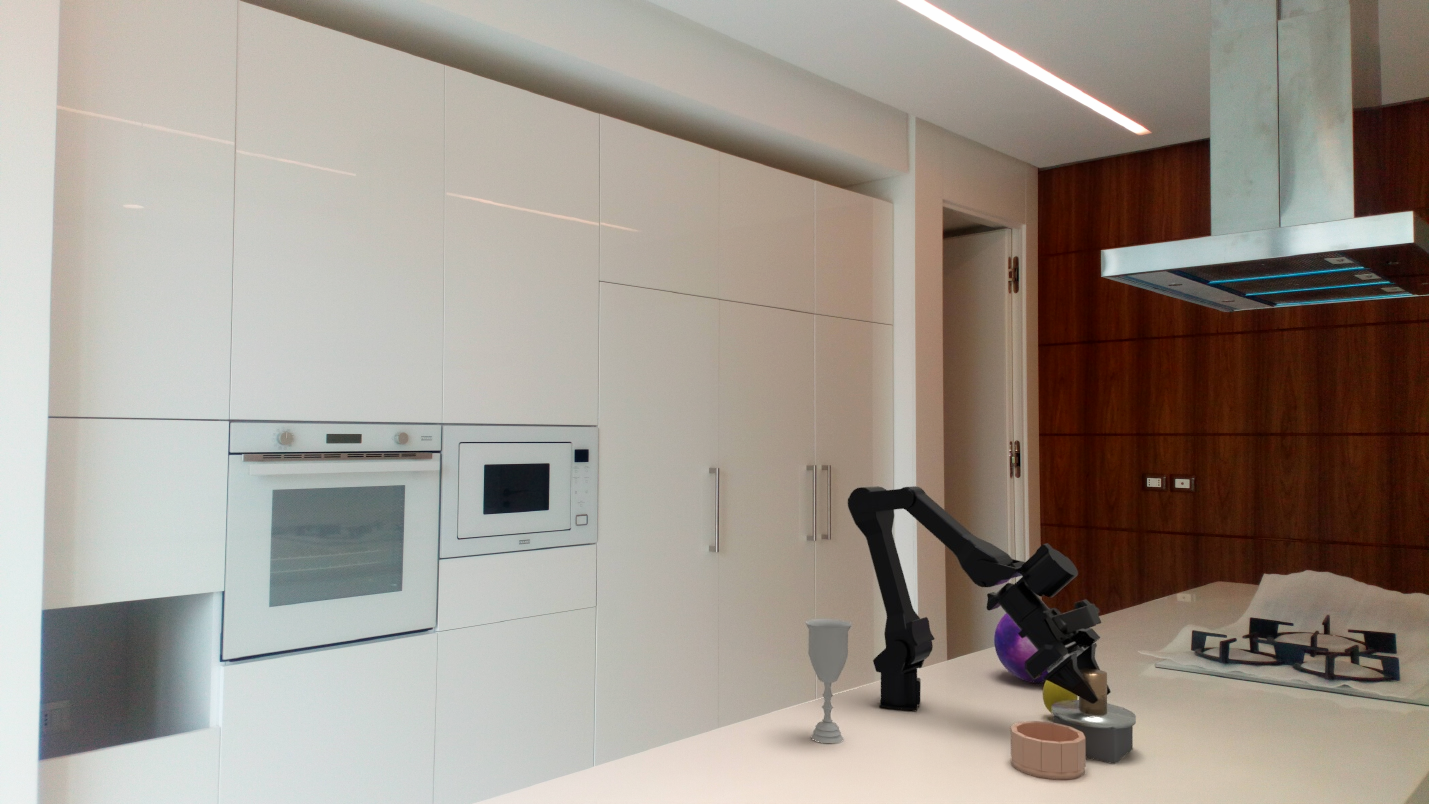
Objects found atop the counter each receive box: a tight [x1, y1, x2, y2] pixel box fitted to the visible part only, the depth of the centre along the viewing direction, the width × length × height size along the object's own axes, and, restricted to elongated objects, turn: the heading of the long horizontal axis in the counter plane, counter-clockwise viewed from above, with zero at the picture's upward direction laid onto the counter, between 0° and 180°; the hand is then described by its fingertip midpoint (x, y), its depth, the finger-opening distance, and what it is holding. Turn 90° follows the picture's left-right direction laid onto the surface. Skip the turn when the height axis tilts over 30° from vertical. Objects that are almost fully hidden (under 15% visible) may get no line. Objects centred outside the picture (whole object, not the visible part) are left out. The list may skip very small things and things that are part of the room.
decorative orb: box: [993, 612, 1049, 684], centre depth 180 cm, size 15×15×15 cm
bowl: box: [1010, 720, 1086, 780], centre depth 132 cm, size 10×10×5 cm
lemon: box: [1042, 680, 1078, 714], centre depth 155 cm, size 6×6×8 cm
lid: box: [1051, 669, 1137, 729], centre depth 140 cm, size 12×12×7 cm
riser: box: [1052, 715, 1134, 765], centre depth 140 cm, size 9×9×5 cm
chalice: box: [805, 618, 853, 744], centre depth 143 cm, size 7×7×18 cm
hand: (1102, 697), depth 139 cm, fingers open, 6 cm apart
